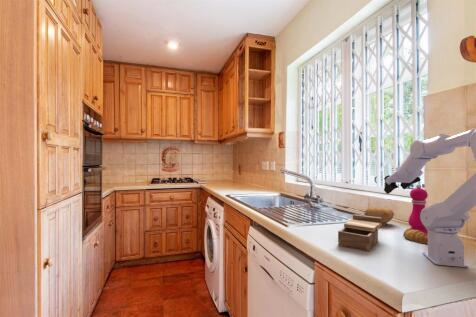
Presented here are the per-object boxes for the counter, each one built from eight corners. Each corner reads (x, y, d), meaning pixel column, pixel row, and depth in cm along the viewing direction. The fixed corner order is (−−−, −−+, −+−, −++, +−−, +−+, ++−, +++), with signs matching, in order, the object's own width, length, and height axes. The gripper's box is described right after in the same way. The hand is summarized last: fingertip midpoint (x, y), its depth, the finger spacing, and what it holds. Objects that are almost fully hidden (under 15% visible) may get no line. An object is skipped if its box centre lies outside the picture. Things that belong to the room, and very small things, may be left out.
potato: (400, 225, 119) (400, 208, 119) (374, 228, 116) (374, 209, 116) (384, 221, 129) (384, 204, 129) (359, 222, 125) (359, 206, 126)
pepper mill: (420, 236, 103) (419, 185, 103) (404, 231, 110) (403, 183, 110) (434, 235, 105) (434, 184, 105) (417, 230, 112) (417, 183, 112)
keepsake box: (368, 251, 86) (368, 236, 86) (338, 245, 93) (338, 231, 93) (378, 242, 95) (377, 229, 95) (349, 237, 102) (349, 224, 102)
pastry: (438, 243, 95) (438, 233, 95) (425, 246, 93) (425, 235, 92) (413, 236, 104) (412, 226, 104) (400, 238, 101) (400, 228, 101)
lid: (373, 231, 91) (373, 223, 91) (344, 227, 97) (343, 219, 97) (381, 225, 100) (381, 217, 100) (354, 221, 106) (354, 214, 106)
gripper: (419, 155, 98) (402, 177, 108) (386, 163, 95) (372, 185, 105) (434, 169, 93) (415, 191, 103) (399, 178, 90) (383, 200, 100)
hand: (394, 189), depth 104 cm, fingers open, 7 cm apart
